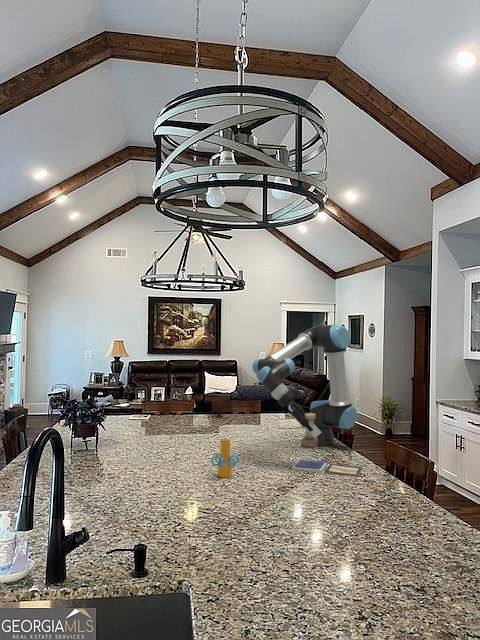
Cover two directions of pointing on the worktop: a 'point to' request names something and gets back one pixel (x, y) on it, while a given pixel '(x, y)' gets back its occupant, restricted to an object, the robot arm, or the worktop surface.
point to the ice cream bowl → (219, 405)
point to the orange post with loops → (225, 460)
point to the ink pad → (310, 466)
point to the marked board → (343, 470)
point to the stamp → (309, 439)
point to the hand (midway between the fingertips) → (318, 435)
